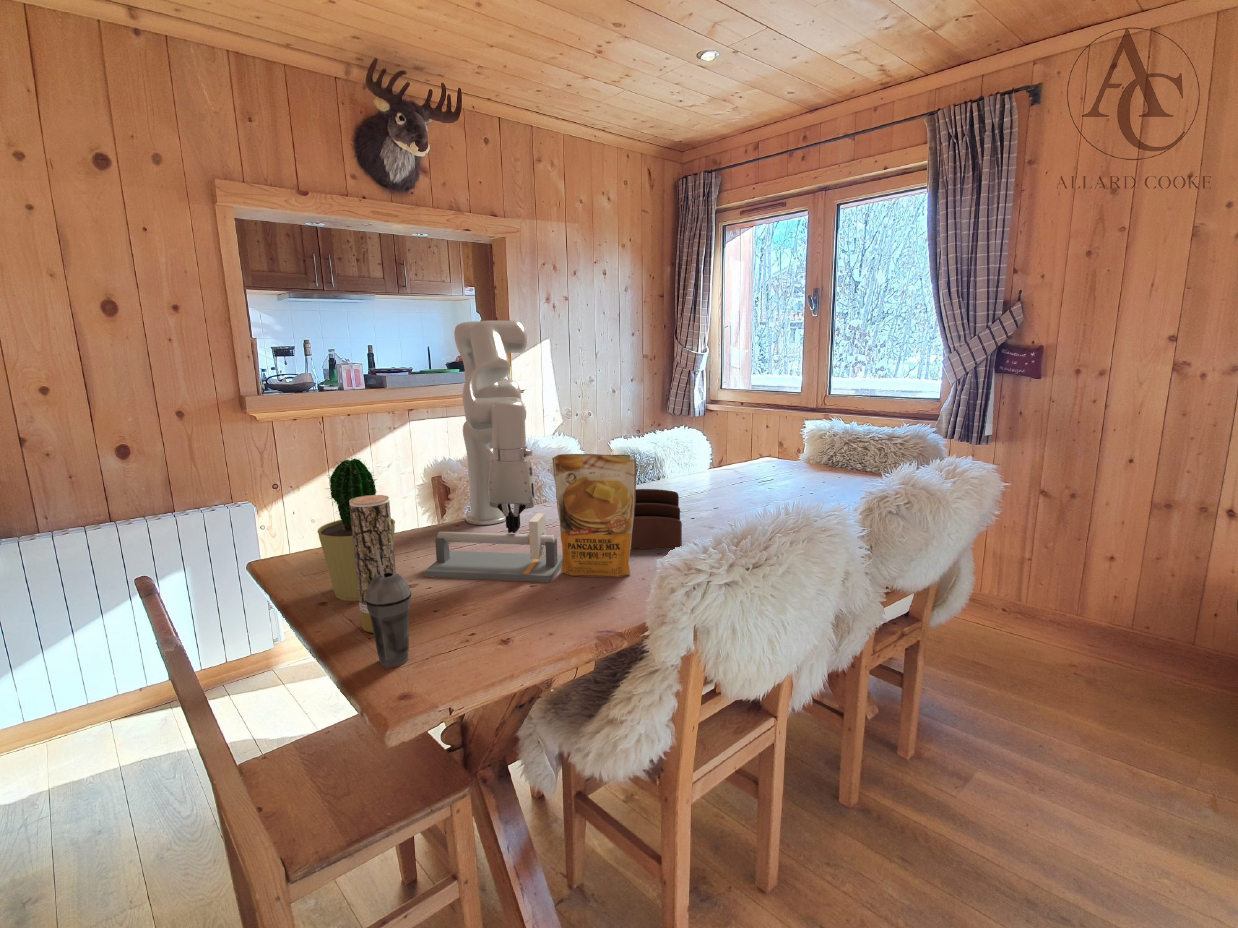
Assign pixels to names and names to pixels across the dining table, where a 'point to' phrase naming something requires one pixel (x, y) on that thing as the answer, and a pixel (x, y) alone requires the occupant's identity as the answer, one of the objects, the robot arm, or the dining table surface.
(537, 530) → the collar
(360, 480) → the potted cactus
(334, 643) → the dining table surface
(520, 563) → the pipe rig
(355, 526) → the bark wrapped tube
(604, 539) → the pancake mix bag
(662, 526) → the letter holder
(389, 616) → the beverage cup
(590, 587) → the dining table surface
